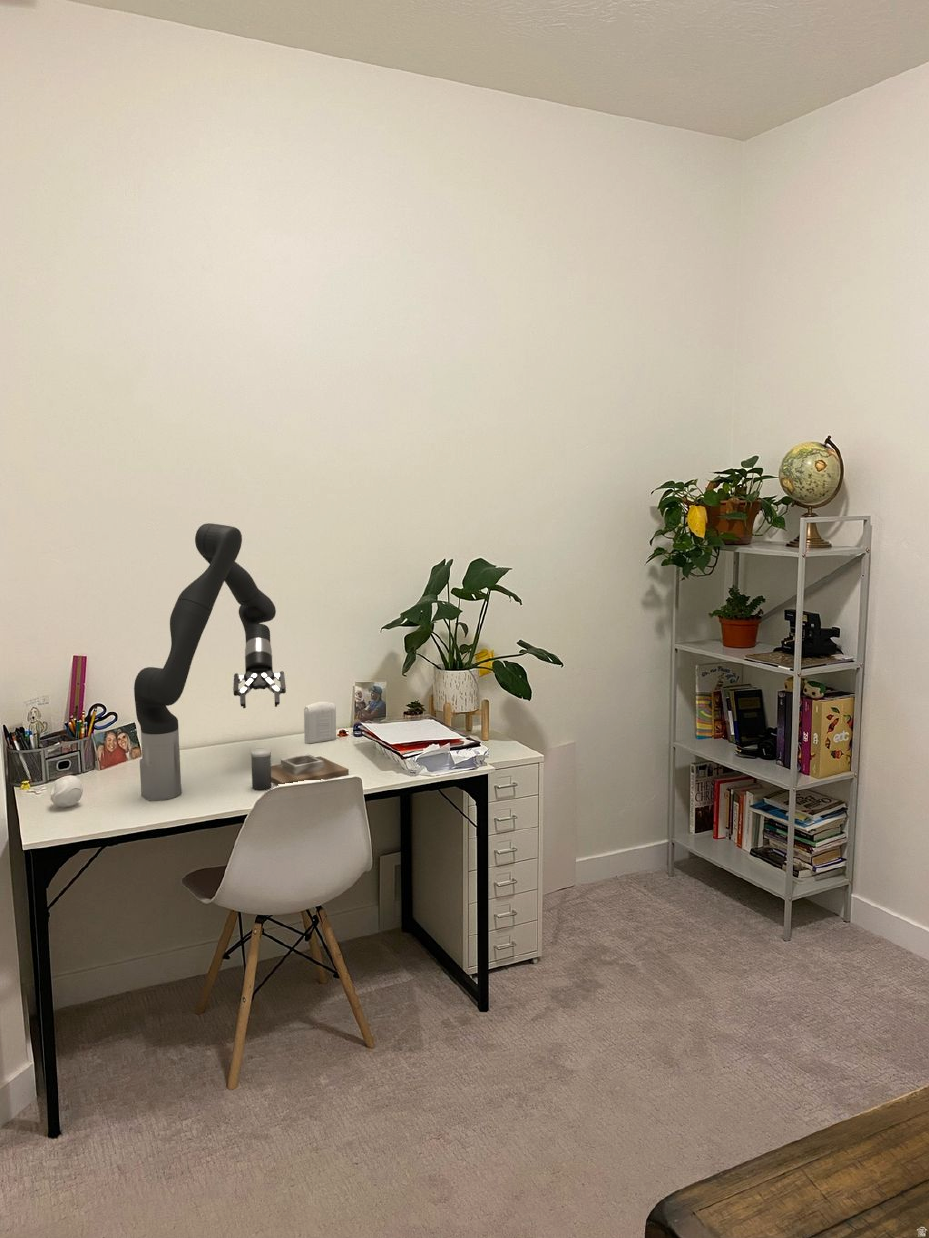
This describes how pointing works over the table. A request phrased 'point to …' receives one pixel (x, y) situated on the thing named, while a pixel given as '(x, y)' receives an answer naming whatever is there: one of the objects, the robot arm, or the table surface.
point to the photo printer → (319, 722)
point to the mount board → (305, 769)
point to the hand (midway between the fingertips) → (260, 706)
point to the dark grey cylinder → (261, 769)
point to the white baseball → (66, 791)
